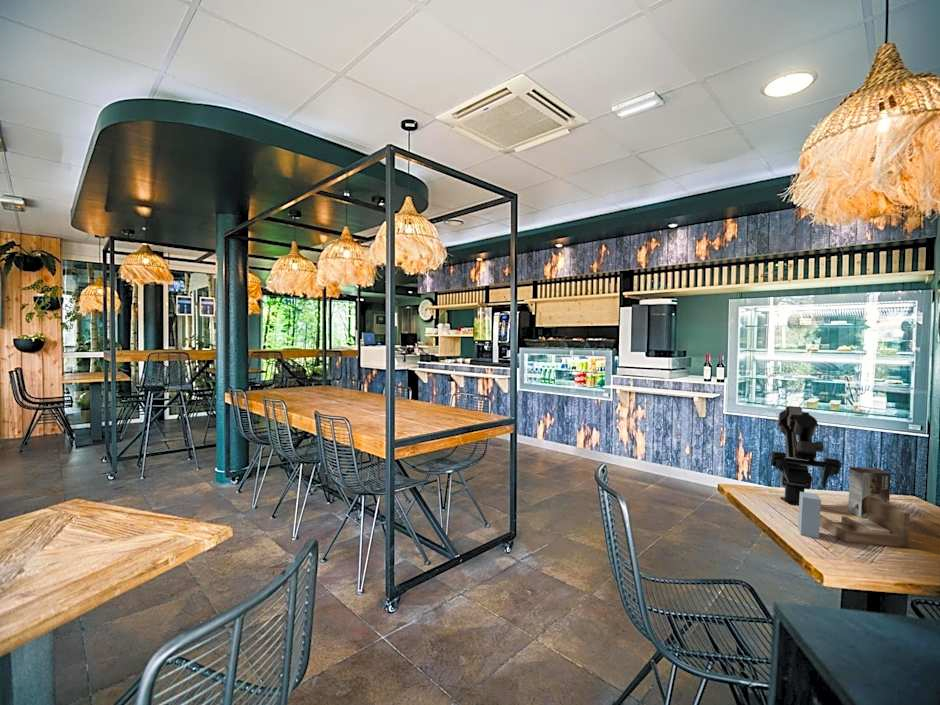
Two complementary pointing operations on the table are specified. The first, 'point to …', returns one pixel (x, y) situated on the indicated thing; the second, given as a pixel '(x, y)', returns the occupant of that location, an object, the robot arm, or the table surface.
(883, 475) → the coffee box
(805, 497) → the blue-gray rectangular box
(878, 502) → the book rack
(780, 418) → the robot arm
